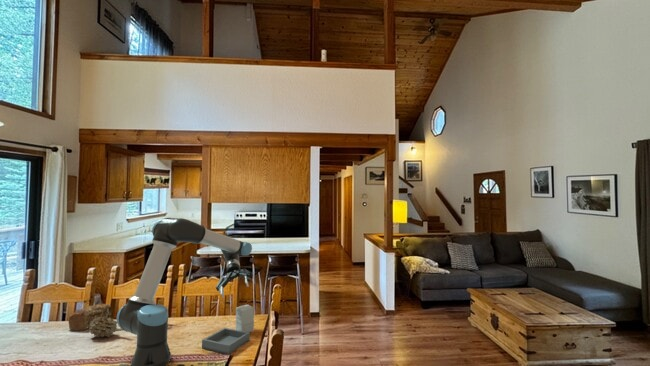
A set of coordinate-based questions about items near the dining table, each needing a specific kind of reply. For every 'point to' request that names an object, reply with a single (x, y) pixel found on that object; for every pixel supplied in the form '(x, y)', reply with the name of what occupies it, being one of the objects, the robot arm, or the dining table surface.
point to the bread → (88, 316)
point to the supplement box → (245, 318)
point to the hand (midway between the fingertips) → (234, 290)
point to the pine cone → (103, 326)
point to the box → (226, 340)
